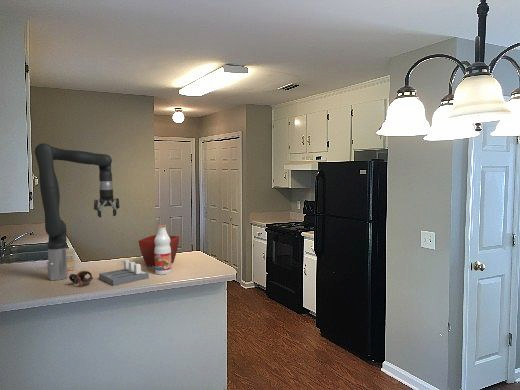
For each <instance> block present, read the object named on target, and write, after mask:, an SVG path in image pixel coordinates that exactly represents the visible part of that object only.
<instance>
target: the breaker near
mask: <svg viewBox="0 0 520 390" xmlns="http://www.w3.org/2000/svg"><path fill="white" fill-rule="evenodd" d="M141 270H142V267H141V264H140V263H135V264H134V273H135V274H140V273H141Z"/></svg>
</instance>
